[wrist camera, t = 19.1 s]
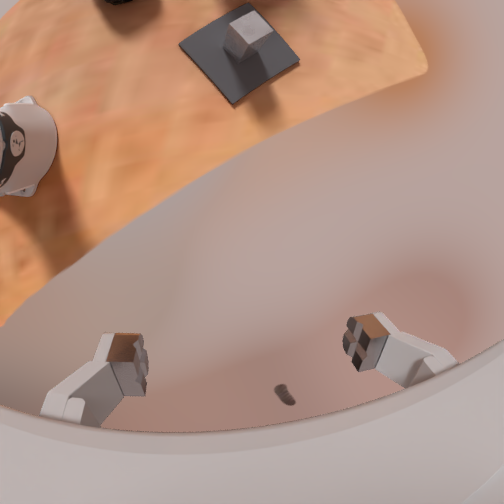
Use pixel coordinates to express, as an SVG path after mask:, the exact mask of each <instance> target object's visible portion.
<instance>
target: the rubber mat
mask: <svg viewBox="0 0 504 504" xmlns="http://www.w3.org/2000/svg"><path fill="white" fill-rule="evenodd" d="M254 10H255V11H256V12H257V13H258V14H259V15H260V17H261V18H262V19H263V20H264V21H265V22H266V23H267V24H268V25H269V26H270V27H271V28H272V29H273V30H274V31H273V32H272V33H271V35H270V36H269V37H268V39H267V40H266V41H265V43H264V44H263V45H262V47H261V48H260V49H259V51H258V52H256V53H255V54H253V55H252V56H250V57H248V58H247V59H245V60H244V61H242V62H240V63H239V64H238V63H237V62H236V61H235V60H234V59H233V58H232V57H231V55H230V54H229V53H228V52H227V51H226V50H225V49H224V48H223V44H224V40H225V37H226V33H227V30H228V26H229V23H231V22H233V21H235V20H237V19H238V18H240V17H242V16H244V15H246V14H248V13H250V12H252V11H254ZM179 46H180V47H181V48H182V49H183V50H184V51H185V52H186V53H187V54H188V55H189V56H190V57H191V58H192V60H193V61H194V62H195V63H196V64H197V65H198V66H199V67H200V68H201V69H202V70H203V72H204V73H205V74H206V75H207V76H208V77H209V78H210V79H211V80H212V82H213V83H214V84H215V85H216V86H217V87H218V88H219V90H220V91H221V92H222V93H223V94H224V95H225V97H226V98H227V99H228V100H229V101H230V102H231V104H234V103H235V102H236V101H238V100H239V99H241V98H242V97H243V96H245V95H246V94H248V93H249V92H251V91H252V90H253V89H255V88H256V87H258V86H259V85H261V84H262V83H264V82H265V81H267V80H269V79H270V78H272V77H273V76H275V75H276V74H278V73H280V72H281V71H283V70H284V69H286V68H288V67H289V66H291V65H293V64H294V63H296V62H298V61H299V60H300V59H299V58H298V56H297V55H296V54H295V53H294V51H293V50H292V49H291V48H290V47H289V45H288V44H287V43H286V42H285V41H284V40H283V38H282V37H281V36H280V35H279V34H278V33H277V32H276V31H275V29H274V28H273V27H272V26H271V25H270V24H269V23H268V22H267V21H266V20H265V19H264V18H263V16H262V15H261V14H260V13H259V12H258V11H257V10H256V9H255V8H254V7H253V6H252V5H251V4H250V3H247V4H244V5H242V6H241V7H239V8H237V9H235V10H233V11H231V12H229V13H227V14H225V15H224V16H222V17H220V18H218V19H217V20H215V21H213V22H211V23H210V24H208V25H206V26H205V27H203V28H201V29H200V30H198V31H197V32H195V33H194V34H192V35H191V36H189V37H188V38H186V39H185V40H183V41H182V42H180V43H179Z"/></svg>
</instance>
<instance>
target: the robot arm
mask: <svg viewBox="0 0 504 504" xmlns="http://www.w3.org/2000/svg"><path fill="white" fill-rule="evenodd" d="M56 148H57V130H56V126H55V123H54V120H53V118H52V117H51V115H50V114H49V113H48V112H47V111H46V110H45V109H43V108H41V107H40V106H38V105H37V103H36V101H35V99H34V98H33V97H32V96H25V97H24V98H22V99H20V100H19V101H17V102H16V103H6V104H4V106H3V107H1V108H0V196H5V195H15V196H24V197H30V196H33V195H34V193H35V191H36V188H37V186H38V183H39V181H40V180H41V178H42V177H43V176H44V175H45V174H46V173H47V171H48V170H49V168H50V166H51V164H52V162H53V159H54V157H55V153H56ZM24 189H25V191H24ZM347 327H348V330H347V331H346V332H345V333H344V336H343V348H344V350H345V352H346V354H347V355H349V356H351V357H352V363H353V365H354V366H355V368H356V369H357V371H358V372H361V371H365V370H370V369H374V368H375V369H376V370H377V371H379V372H380V373H382V374H384V375H385V376H387V377H388V378H390V379H391V380H393V381H394V382H396V383H398V384H399V385H401V386H402V387H404V388H405V389H403V390H401V391H398V392H395V393H393V394H390V395H387V396H384V397H381V398H378V399H375V400H372V401H369V402H366V403H363V404H360V405H357V406H353V407H350V408H346V409H343V410H339V411H335V412H331V413H328V414H323V415H319V416H315V417H310V418H305V419H301V420H296V421H290V422H285V423H279V424H273V425H266V426H259V427H251V428H242V429H233V430H221V431H206V432H144V431H128V430H116V429H107V428H101V426H100V425H101V424H102V423H103V421H104V420H105V419H106V418H107V417H108V415H109V414H110V413H111V412H112V411H113V410H114V408H115V407H116V406H117V405H118V404H119V402H120V401H121V400H122V398H124V396H145V392H146V385H147V382H146V379H145V377H146V376H147V375H148V356H147V352H146V350H145V349H143V345H144V340H143V337H142V335H141V334H134V333H103V334H102V336H101V339H100V341H99V344H98V347H97V349H96V352H95V355H94V358H93V361H88V362H87V363H85V364H84V365H83V366H82V367H80V368H79V369H78V370H77V371H75V372H74V373H73V374H71V375H70V376H68V377H67V378H66V379H64V380H63V381H62V382H61V383H59V384H58V385H57V386H55V387H54V388H53V389H51V390H50V391H49V392H48V393H47V396H46V398H45V401H44V404H43V407H42V409H41V412H40V415H39V416H36V415H32V414H29V413H25V412H22V411H18V410H15V409H12V408H9V407H6V406H3V405H0V504H504V340H501V341H499V342H497V343H496V344H495V345H493V346H491V347H489V348H488V349H486V350H484V351H483V352H481V353H479V354H477V355H476V356H474V357H472V358H470V359H468V360H467V361H465V362H463V363H461V364H459V363H458V361H457V360H456V359H455V358H454V357H453V356H452V355H451V354H450V353H449V352H448V351H447V350H446V349H445V348H442V347H439V346H437V345H435V344H432V343H430V342H427V341H425V340H422V339H420V338H418V337H415V336H413V335H410V334H408V333H405V332H400V331H399V330H398V329H397V328H396V327H395V326H394V324H392V322H391V321H390V320H389V319H388V318H387V317H386V316H385V315H384V314H383V313H382V312H375V313H370V314H367V315H361V316H355V317H350V318H349V319H348V322H347Z"/></svg>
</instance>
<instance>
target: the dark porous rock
mask: <svg viewBox="0 0 504 504" xmlns="http://www.w3.org/2000/svg"><path fill="white" fill-rule="evenodd" d="M130 1H132V0H105V2H107V3H111V4H113V5H118V4H122V3H126V2H130Z"/></svg>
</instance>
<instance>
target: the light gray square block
mask: <svg viewBox="0 0 504 504" xmlns="http://www.w3.org/2000/svg"><path fill="white" fill-rule="evenodd" d="M273 31H274V30H273V29H272V28H271V27H270V26H269V25H268V24H267V23H266V22H265V21H264V20H263V19H262V18H261V17H260V15H259V14H258V13H257V12H256V11H255V10H254V11H252V12H250V13H248V14H246V15H244V16H242V17H240V18H238V19H237V20H235V21H233V22H231V23H229V26H228V30H227V33H226V37H225V40H224V44H223V48H224V49H225V50H226V51H227V52H228V53H229V54H230V55H231V57H232V58H233V59H234V60H235V61H236V62H237V63H238V64H239V63H240V62H242V61H244V60H245V59H247V58H248V57H250V56H252V55H253V54H255V53H256V52H258V51H259V49H260V48H261V47H262V45H263V44H264V43H265V41H266V40H267V39H268V37H269V36H270V35H271V33H272V32H273Z"/></svg>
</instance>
